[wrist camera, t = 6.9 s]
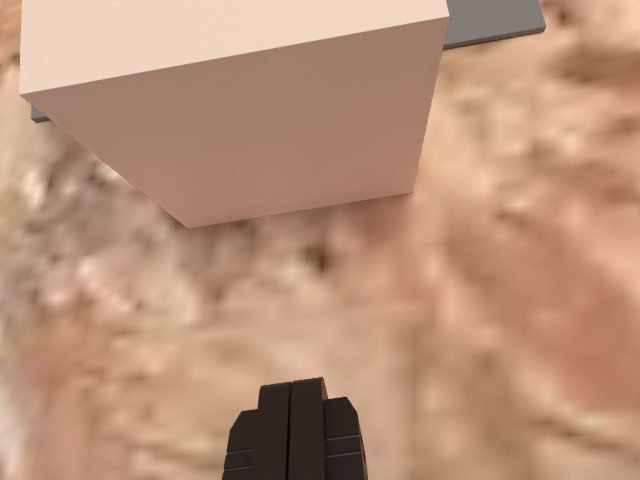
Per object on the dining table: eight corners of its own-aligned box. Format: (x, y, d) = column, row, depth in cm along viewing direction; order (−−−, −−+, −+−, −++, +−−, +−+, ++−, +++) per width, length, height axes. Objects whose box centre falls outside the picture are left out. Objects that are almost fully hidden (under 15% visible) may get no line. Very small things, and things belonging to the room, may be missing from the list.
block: (412, 192, 20) (449, 15, 10) (187, 228, 20) (18, 94, 11) (399, 124, 20) (421, -101, 11) (183, 160, 21) (23, -22, 11)
